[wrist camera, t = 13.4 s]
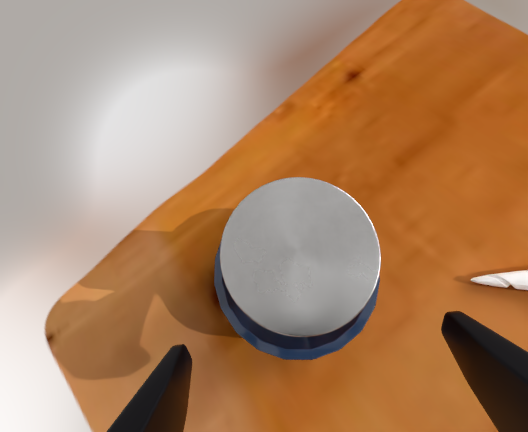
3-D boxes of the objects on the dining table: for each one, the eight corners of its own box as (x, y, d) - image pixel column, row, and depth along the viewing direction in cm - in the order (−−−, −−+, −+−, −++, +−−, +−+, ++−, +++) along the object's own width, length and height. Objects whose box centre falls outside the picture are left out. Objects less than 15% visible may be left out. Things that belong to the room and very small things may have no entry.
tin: (336, 301, 21) (408, 319, 8) (266, 316, 21) (231, 355, 8) (317, 232, 22) (353, 160, 10) (253, 246, 22) (208, 194, 10)
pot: (344, 363, 20) (361, 387, 15) (213, 317, 22) (191, 326, 17) (370, 229, 22) (391, 213, 18) (251, 199, 24) (242, 177, 20)
